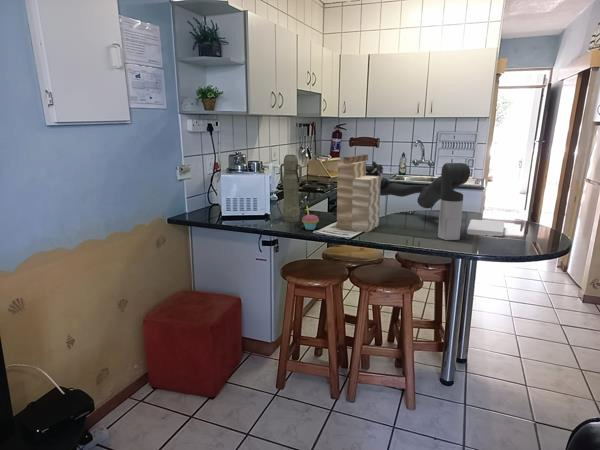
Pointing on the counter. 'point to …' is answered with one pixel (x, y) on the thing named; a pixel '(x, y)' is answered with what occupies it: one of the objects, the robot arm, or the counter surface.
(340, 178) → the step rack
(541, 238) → the counter surface
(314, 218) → the cupcake
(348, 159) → the walnut bar
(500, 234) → the food packaging
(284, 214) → the thermos
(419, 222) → the counter surface
